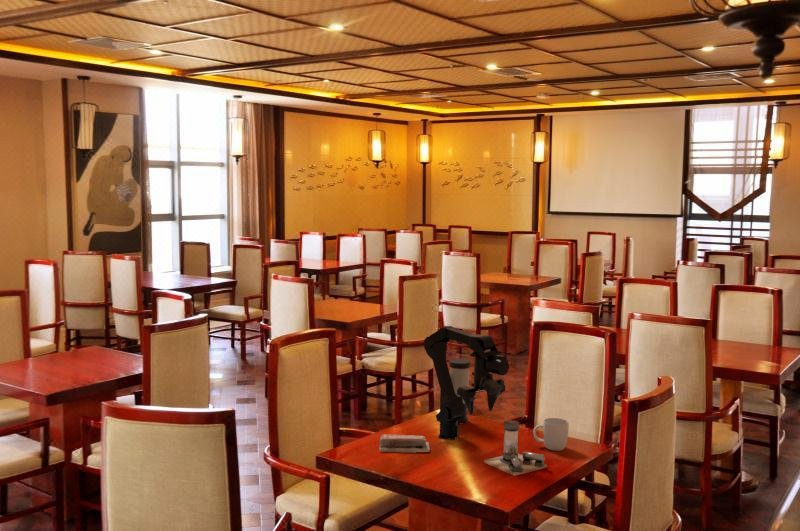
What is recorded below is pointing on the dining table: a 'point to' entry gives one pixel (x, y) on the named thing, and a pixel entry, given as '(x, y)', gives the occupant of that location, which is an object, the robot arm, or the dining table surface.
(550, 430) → the mug
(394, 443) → the packaged product
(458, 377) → the light fixture
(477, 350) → the robot arm
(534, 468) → the board
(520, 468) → the shaft
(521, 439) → the dining table surface
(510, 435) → the drinking glass
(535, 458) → the shaft
